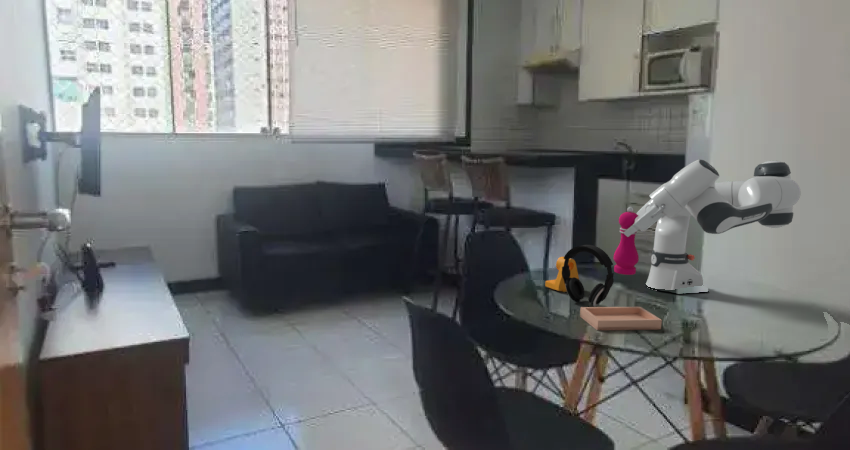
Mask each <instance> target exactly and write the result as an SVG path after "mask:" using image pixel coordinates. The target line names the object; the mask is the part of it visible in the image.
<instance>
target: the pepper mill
mask: <svg viewBox="0 0 850 450" xmlns="http://www.w3.org/2000/svg"><path fill="white" fill-rule="evenodd" d="M636 213H637V212H634V208H633V206H628V207H627V208H626V211H625V212H622V213H621V214H620V216H619V217H618V224H619V225H620V227H619V233H620V242H619V244H618V246H617V247H616V249H615V251H614V254H613V262H615V265H613V266H614V267H613V271H614V272H613V273H616V274H619V275H625V276H626V275H627V276H628V275H629V276H631V275H632V276H633V275H636V273H637V267H636V266H635V265H637V264H638V263H639V259H640V257H639V253H638V250H637V247H636V242H635V239H636V235H637V234H638V231H636V232H635V233H633V234H631V235H630V236H629V237H627V236H626V235H625V234H624V232H625V231H626V230H627V229H628V228H630V227H631V226H632V225H633V224H634V223H635V219H636V217H637V216H638V215H637V214H636Z"/></svg>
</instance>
